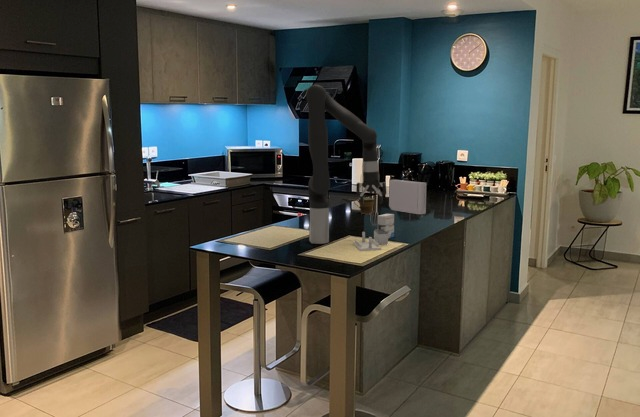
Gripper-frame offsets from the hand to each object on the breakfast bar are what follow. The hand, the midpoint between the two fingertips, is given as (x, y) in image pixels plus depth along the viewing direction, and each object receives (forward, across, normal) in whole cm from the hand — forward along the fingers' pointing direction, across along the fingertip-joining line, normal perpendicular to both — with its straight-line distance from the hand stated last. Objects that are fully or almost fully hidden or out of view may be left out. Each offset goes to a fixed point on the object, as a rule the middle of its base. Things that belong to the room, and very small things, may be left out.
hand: (371, 203), depth 275 cm
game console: (+23, +8, +100) cm, 103 cm away
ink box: (+20, +5, +12) cm, 24 cm away
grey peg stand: (+18, -1, -12) cm, 22 cm away
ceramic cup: (+21, -18, +83) cm, 88 cm away
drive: (+19, +4, -1) cm, 20 cm away
